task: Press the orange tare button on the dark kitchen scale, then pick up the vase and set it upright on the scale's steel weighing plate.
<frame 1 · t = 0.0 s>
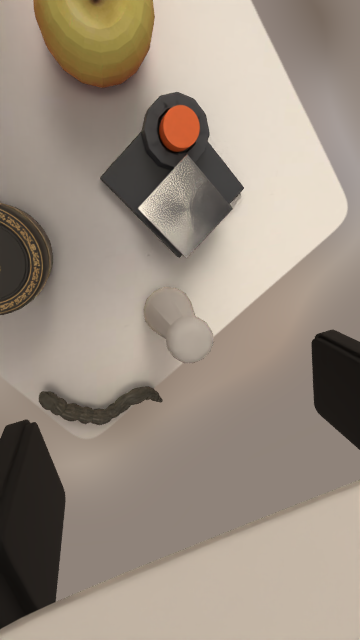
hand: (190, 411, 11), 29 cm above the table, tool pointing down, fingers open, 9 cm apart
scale: (174, 183, 36), on the table
salt shaker: (163, 305, 41), on the table
apple: (95, 38, 31), on the table
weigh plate: (179, 209, 37), resting on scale
toy: (111, 413, 39), point 4 cm above the table
jar: (6, 252, 34), on the table
tare button: (179, 129, 32), point 4 cm above the table, slide at 0.1 cm
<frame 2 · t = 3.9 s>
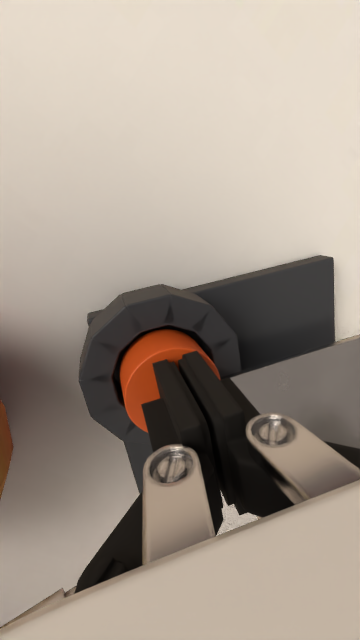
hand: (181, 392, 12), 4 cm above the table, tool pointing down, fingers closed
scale: (226, 379, 17), on the table
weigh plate: (267, 390, 18), resting on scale
tare button: (168, 380, 13), point 3 cm above the table, slide at -0.1 cm, touching gripper
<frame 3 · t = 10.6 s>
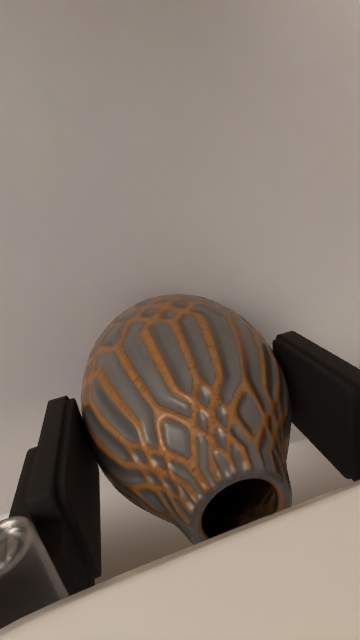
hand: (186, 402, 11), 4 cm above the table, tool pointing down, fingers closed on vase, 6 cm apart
vase: (161, 351, 15), on the table, touching gripper
when the fingers open (7 cm above the table, at t = 18.8 s): vase stays where it is, resting on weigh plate.
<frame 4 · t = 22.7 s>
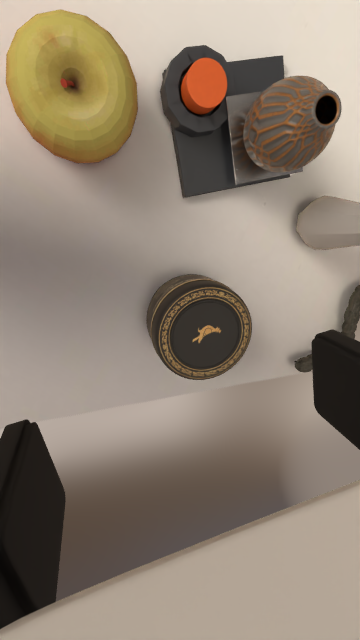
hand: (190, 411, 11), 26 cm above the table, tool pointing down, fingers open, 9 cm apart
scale: (229, 130, 33), on the table
salt shaker: (309, 223, 39), on the table
apple: (77, 109, 30), on the table
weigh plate: (251, 143, 34), resting on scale
toy: (356, 330, 40), point 4 cm above the table
jar: (185, 312, 38), on the table
vase: (265, 137, 31), point 3 cm above the table, touching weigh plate
tare button: (203, 87, 28), point 4 cm above the table, slide at 0.1 cm
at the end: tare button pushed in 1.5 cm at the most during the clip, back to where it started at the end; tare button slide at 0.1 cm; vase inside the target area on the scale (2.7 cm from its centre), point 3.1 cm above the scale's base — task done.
